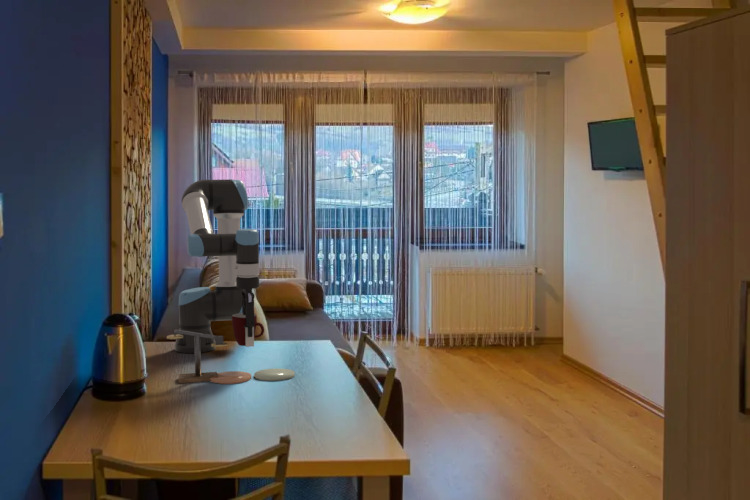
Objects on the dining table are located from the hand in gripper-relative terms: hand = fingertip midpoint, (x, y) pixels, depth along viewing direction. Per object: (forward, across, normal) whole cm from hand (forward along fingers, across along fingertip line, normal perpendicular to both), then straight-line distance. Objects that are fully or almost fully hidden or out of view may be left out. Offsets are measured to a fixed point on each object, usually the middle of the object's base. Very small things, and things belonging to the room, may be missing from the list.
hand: (248, 343), depth 252 cm
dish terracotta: (+9, +12, -7) cm, 16 cm away
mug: (+1, 0, 0) cm, 1 cm away
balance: (+9, +10, -17) cm, 21 cm away
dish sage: (+9, +12, +7) cm, 16 cm away
